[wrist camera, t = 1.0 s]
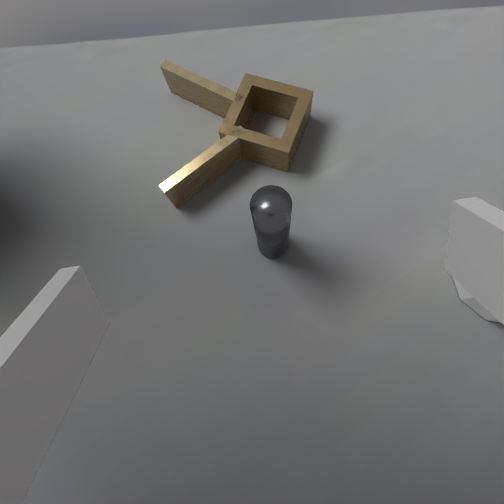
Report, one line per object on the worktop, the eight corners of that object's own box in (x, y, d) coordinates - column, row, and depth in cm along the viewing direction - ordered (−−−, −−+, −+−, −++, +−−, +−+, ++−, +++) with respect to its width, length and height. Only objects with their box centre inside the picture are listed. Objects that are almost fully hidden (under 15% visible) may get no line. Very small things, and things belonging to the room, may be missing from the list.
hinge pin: (253, 252, 40) (243, 216, 28) (264, 226, 41) (258, 180, 29) (281, 262, 39) (283, 230, 28) (292, 235, 40) (297, 192, 28)
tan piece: (120, 188, 43) (103, 171, 39) (177, 79, 47) (167, 52, 43) (261, 237, 40) (259, 225, 36) (309, 115, 44) (313, 91, 40)
